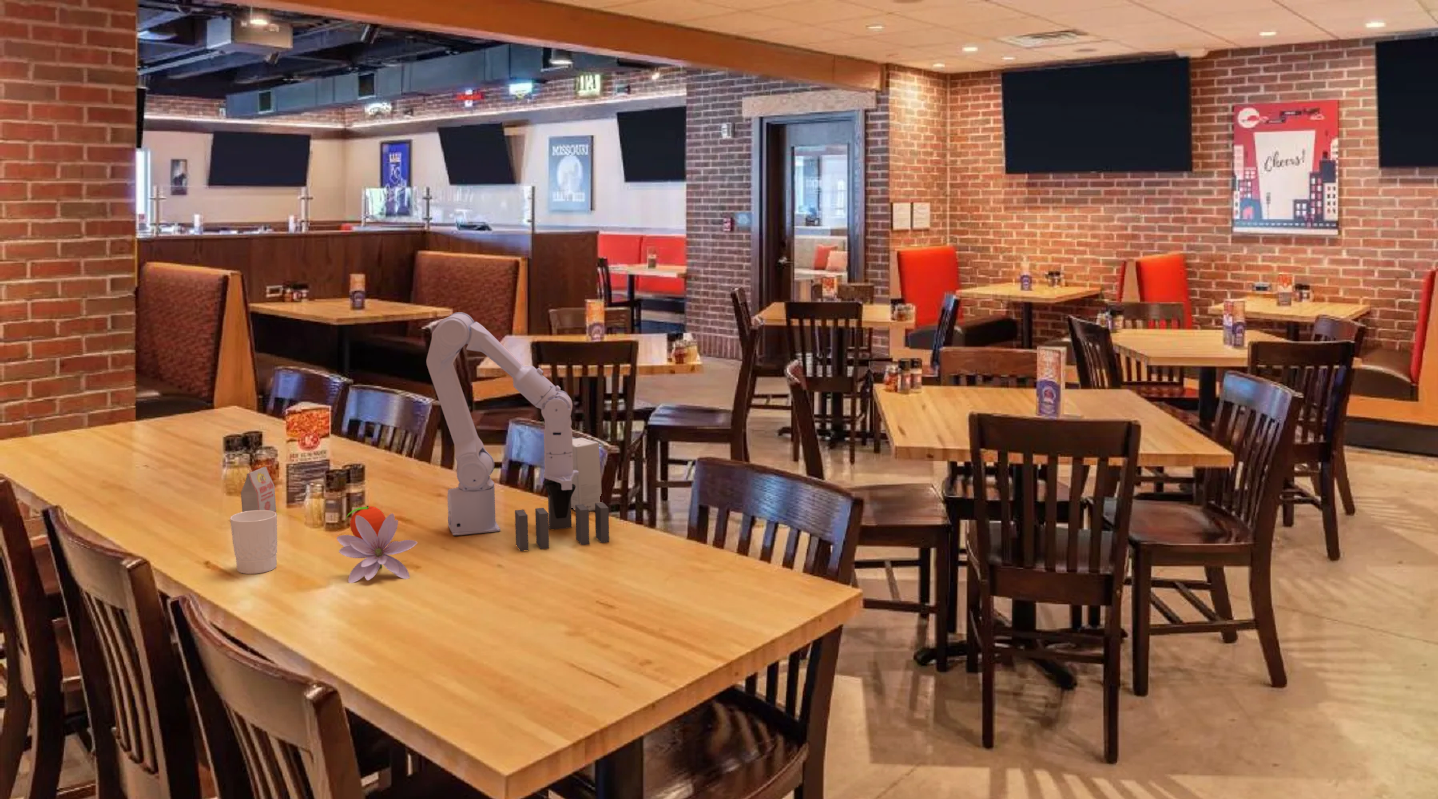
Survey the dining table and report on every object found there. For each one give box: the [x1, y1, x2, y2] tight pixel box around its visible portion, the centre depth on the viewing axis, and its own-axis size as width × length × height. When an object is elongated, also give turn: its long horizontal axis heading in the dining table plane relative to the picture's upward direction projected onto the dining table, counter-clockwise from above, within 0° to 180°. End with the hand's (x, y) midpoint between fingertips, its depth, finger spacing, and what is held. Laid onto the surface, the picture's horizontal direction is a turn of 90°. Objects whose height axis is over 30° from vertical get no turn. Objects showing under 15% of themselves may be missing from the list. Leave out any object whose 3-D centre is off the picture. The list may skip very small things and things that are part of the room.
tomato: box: [344, 505, 387, 540], centre depth 231 cm, size 8×7×7 cm
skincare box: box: [571, 437, 603, 512], centre depth 256 cm, size 8×6×15 cm
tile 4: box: [574, 504, 590, 546], centre depth 231 cm, size 2×4×7 cm, turn 20°
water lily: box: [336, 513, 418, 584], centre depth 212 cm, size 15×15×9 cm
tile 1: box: [514, 509, 530, 552], centre depth 227 cm, size 2×4×7 cm, turn 20°
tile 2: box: [534, 507, 550, 550], centre depth 228 cm, size 2×4×7 cm, turn 20°
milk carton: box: [240, 466, 277, 513], centre depth 249 cm, size 4×7×10 cm, turn 170°
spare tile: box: [547, 494, 573, 530], centre depth 241 cm, size 2×4×7 cm, turn 111°
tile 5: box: [594, 501, 610, 544], centre depth 232 cm, size 2×4×7 cm, turn 20°
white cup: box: [229, 510, 278, 575], centre depth 214 cm, size 8×8×10 cm
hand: (559, 516), depth 241 cm, fingers closed
